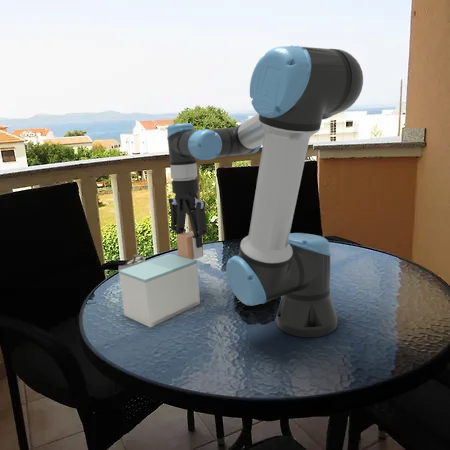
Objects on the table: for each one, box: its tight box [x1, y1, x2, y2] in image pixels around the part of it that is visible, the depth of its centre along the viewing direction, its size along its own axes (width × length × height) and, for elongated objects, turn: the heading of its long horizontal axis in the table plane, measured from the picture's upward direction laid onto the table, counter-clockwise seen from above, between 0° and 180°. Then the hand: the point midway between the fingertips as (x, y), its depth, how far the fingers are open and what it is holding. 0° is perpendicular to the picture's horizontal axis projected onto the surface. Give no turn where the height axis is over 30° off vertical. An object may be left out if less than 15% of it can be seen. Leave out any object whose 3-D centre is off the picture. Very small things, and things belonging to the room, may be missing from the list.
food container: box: [118, 254, 146, 272], centre depth 133 cm, size 12×6×10 cm, turn 168°
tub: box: [118, 262, 201, 328], centre depth 116 cm, size 12×18×12 cm, turn 137°
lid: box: [118, 230, 204, 283], centre depth 116 cm, size 12×24×7 cm, turn 137°
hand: (191, 255), depth 123 cm, fingers open, 6 cm apart
